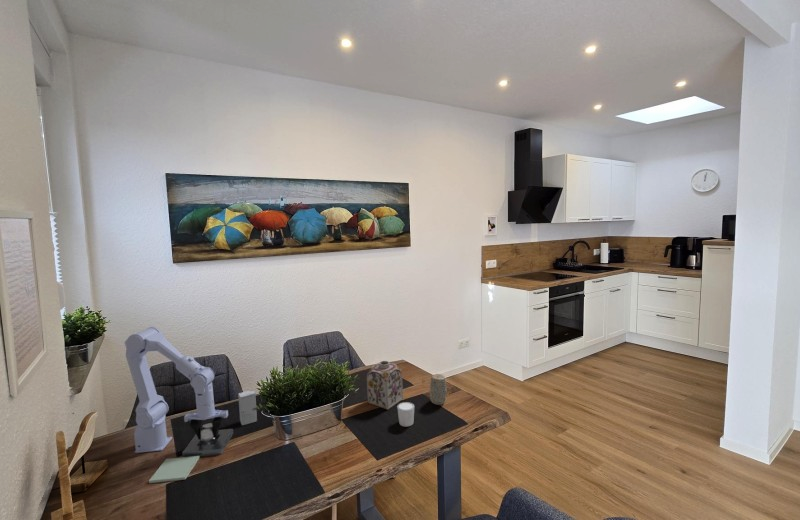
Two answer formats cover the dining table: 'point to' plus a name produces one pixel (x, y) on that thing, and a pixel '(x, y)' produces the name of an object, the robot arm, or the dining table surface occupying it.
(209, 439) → the translucent grey cylinder
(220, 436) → the bore plate
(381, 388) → the decorative jar
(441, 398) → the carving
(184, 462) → the sage pad
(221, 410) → the robot arm
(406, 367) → the dining table surface
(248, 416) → the skincare box
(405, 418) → the white cup
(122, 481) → the dining table surface
